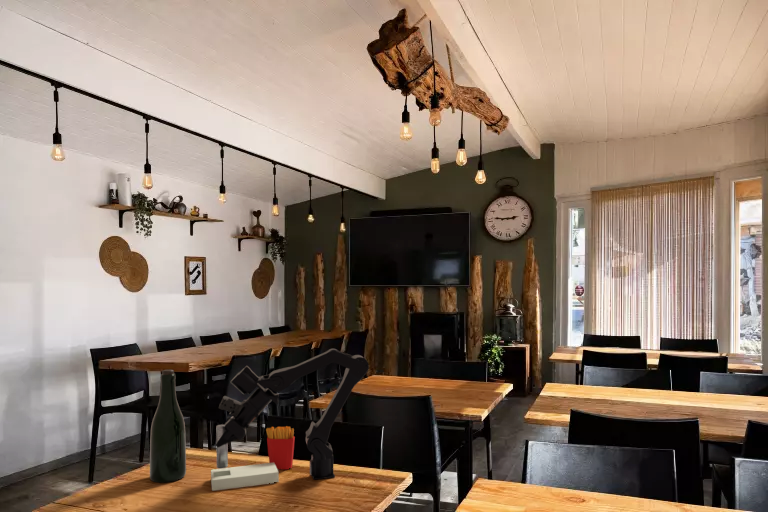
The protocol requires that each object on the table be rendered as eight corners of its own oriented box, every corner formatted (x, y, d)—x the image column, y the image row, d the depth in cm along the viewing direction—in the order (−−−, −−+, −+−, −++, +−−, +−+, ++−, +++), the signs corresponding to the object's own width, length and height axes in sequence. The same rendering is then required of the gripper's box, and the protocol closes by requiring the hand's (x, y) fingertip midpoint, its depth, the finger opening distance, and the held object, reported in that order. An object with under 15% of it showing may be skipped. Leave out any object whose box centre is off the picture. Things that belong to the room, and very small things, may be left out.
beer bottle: (190, 471, 182) (190, 367, 183) (179, 483, 171) (179, 372, 173) (157, 472, 181) (157, 367, 183) (144, 484, 171) (144, 372, 172)
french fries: (295, 465, 186) (295, 424, 186) (292, 469, 182) (292, 428, 182) (268, 465, 187) (267, 424, 187) (264, 469, 182) (264, 428, 183)
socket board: (274, 472, 179) (274, 462, 180) (278, 482, 170) (278, 472, 170) (211, 479, 173) (211, 469, 174) (212, 490, 164) (212, 480, 164)
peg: (229, 464, 172) (228, 424, 172) (226, 468, 168) (225, 427, 169) (218, 465, 171) (217, 424, 172) (215, 468, 168) (215, 427, 169)
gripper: (237, 381, 181) (201, 419, 178) (232, 392, 163) (192, 434, 160) (263, 405, 182) (227, 443, 179) (261, 418, 164) (221, 460, 161)
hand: (217, 444), depth 170 cm, fingers closed on peg, 3 cm apart
